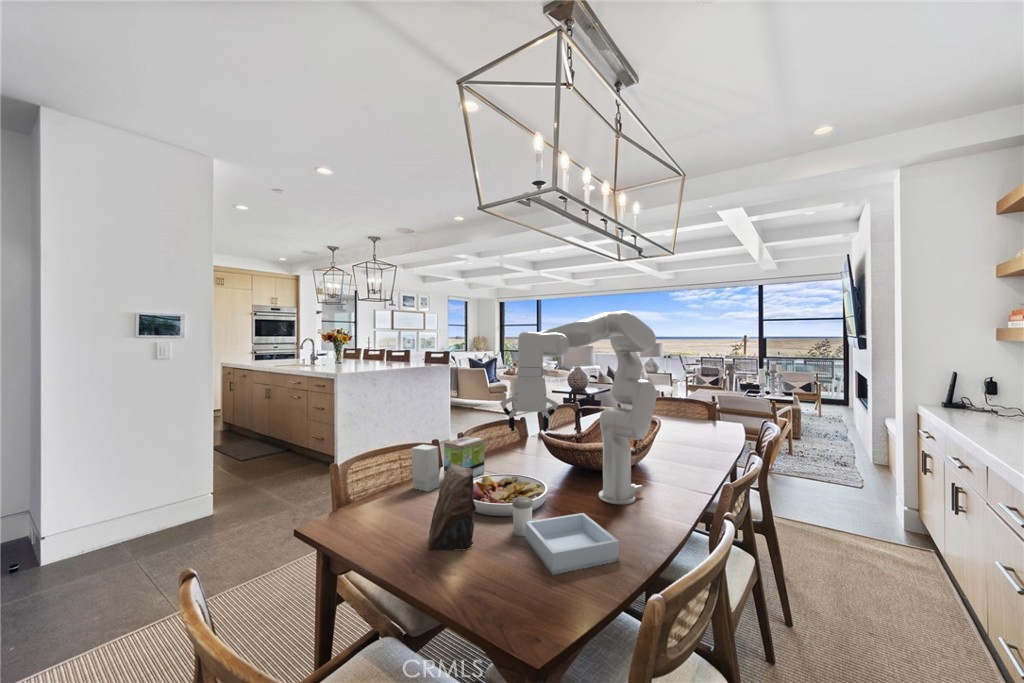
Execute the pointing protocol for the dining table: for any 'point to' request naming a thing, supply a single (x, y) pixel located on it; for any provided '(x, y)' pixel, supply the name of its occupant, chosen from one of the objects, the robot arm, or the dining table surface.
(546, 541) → the tote
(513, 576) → the dining table surface
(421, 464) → the skincare box
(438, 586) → the dining table surface
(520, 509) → the canister
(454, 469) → the owl
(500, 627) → the dining table surface
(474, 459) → the tea box
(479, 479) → the bowl
